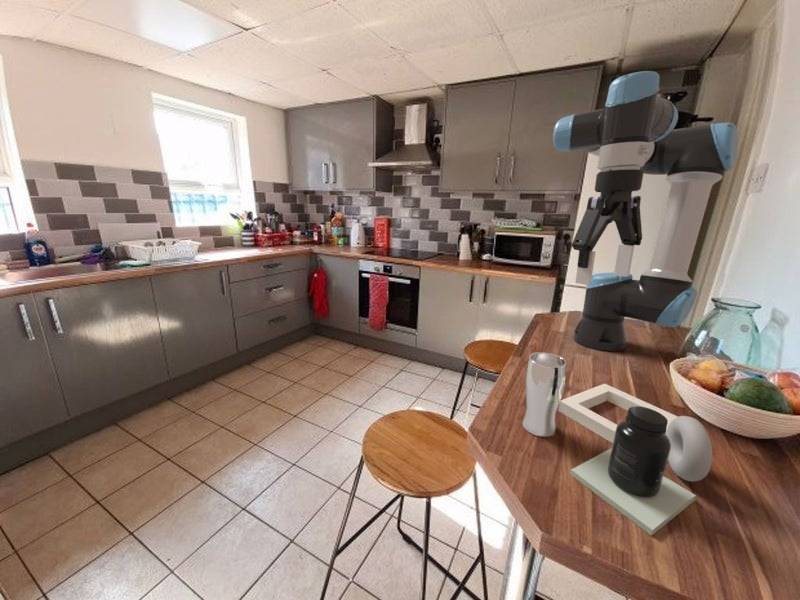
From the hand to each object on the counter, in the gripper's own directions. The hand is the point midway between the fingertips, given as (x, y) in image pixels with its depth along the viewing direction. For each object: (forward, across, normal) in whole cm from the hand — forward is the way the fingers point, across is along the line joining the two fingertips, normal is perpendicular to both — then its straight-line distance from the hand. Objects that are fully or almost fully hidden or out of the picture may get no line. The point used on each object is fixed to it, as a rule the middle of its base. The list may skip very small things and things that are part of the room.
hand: (603, 279), depth 68 cm
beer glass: (+28, -18, -2) cm, 33 cm away
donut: (+28, -7, -21) cm, 36 cm away
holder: (+28, -2, -8) cm, 30 cm away
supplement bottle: (+27, -18, -19) cm, 37 cm away
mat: (+28, -18, -19) cm, 38 cm away
